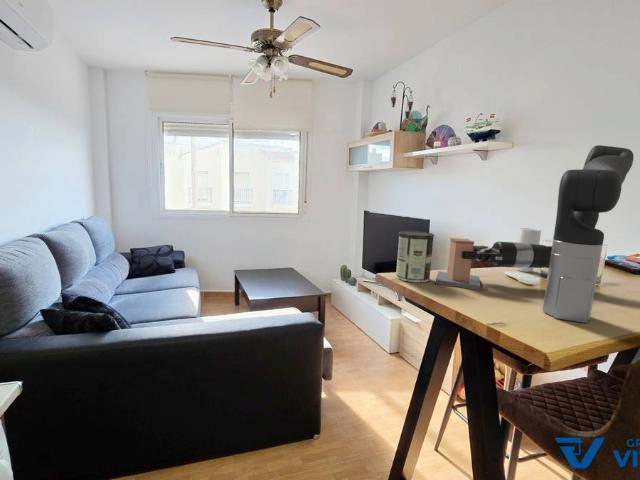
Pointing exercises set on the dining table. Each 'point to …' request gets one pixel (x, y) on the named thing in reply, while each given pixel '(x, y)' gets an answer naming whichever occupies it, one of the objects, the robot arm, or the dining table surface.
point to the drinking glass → (528, 241)
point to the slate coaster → (458, 281)
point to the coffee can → (414, 256)
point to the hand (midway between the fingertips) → (457, 252)
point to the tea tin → (459, 259)
